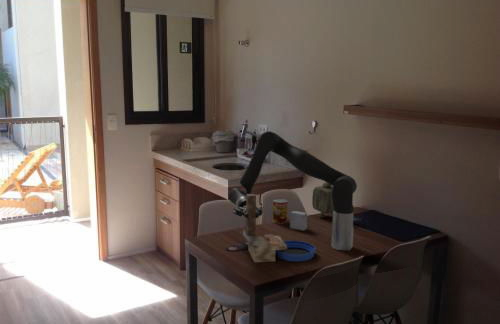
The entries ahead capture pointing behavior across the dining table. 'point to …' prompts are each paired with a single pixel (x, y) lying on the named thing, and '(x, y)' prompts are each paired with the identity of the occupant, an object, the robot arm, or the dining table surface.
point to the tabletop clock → (323, 199)
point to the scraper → (251, 221)
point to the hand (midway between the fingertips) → (252, 216)
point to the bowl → (296, 251)
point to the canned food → (280, 211)
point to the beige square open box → (265, 250)
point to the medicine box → (298, 220)
